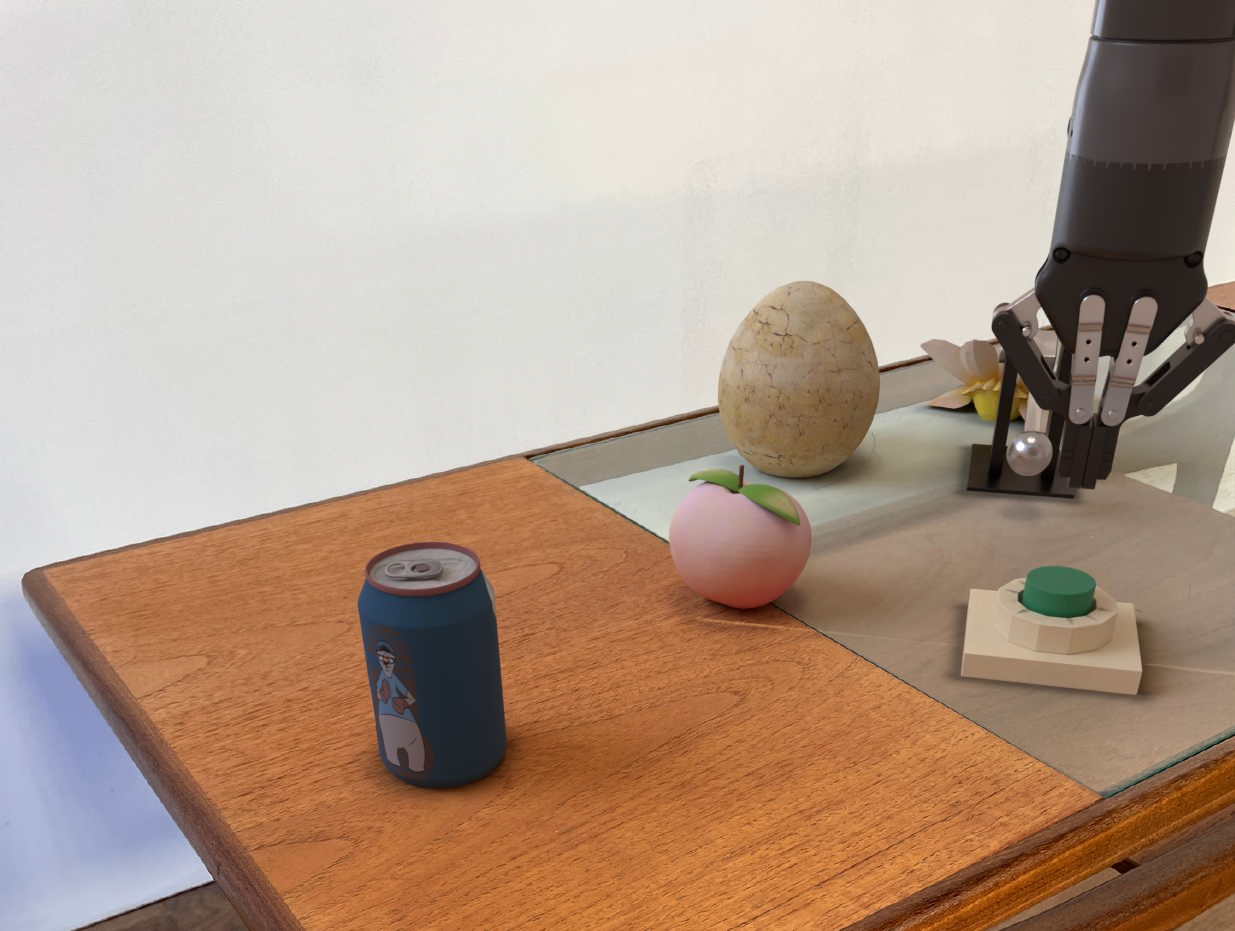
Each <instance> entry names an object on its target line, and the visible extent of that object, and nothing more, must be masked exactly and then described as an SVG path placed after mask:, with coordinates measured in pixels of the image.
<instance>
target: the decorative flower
mask: <svg viewBox="0 0 1235 931" xmlns="http://www.w3.org/2000/svg"><path fill="white" fill-rule="evenodd" d="M919 347H920V348H921V349H922V350H923V351H924V352H925V353H926V354H927V355H928V356H929V357H930V358H931V359H932V360H933V361H934V362H935V364H938V365H939V366H940V367H941V368H943V369H944V370H945V371H947V373H949V374H950V375H952V376H953V377H954V378H956V379H957V380H958V381H959V382H962V383H963V384H965V385H963V386H960V387H956V388H954V389H950V390H948V391H946V392H944V393H942V394H941V395H939V396H937V397H935V398H933V399H932V400H931V401H929V402H926V403H925V405H926V406H931V407H939V408H940V407H941V408H946V409H947V408H948V409H958V408H962V407H965V406H966V405H969V403H971V404H974V408H975V410H976V412H977V414H978V416H979V417H980V418H982V419H983V420H985V421H990V422H995V419H996V412H997V406H998V399H999V393H1000V386H1001V380H1002V373H1003V367H1004V363H998V359H999V352H1000V347H998V348H997V349H996V347H995V346H994V345H992V344H991V343H990V342H989V341H988V340H982V339H980V340H979V339H977V338H973V339H972V340H969V341H965V342H964V343H963V344H962V346H959V345H958V344H955V343H953V342H950V341H948V340H945V339H938V338H932V339H929V340H927V341H925V342H922V343H921V344H920V345H919ZM1053 372H1054V374H1055V375H1056V371H1054V370H1053ZM1027 397H1028V388H1027V387H1026V385H1025V384H1024V382H1023V380H1022V379H1021V377H1020V376H1019V374H1017V380H1016V386H1015V392H1014V399H1013V405H1012V411H1011V417H1010V422H1011V421H1014V420H1016V419H1018V418H1019V417H1022V419H1023V420H1024V421H1025V414H1026V406H1027ZM1048 415H1049V410H1043V409H1042V417H1041V427H1040V432H1041V433H1045V432H1046V426H1047V420H1048Z"/></svg>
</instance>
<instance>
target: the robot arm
mask: <svg viewBox="0 0 1235 931" xmlns="http://www.w3.org/2000/svg"><path fill="white" fill-rule="evenodd" d="M1090 24H1091V25H1090V30H1089V34H1090V35H1091V36H1090V37H1089V38H1088V43H1087V47H1086V51H1085V55H1084V59H1083V63H1082V66H1081V69H1080V73H1079V76H1078V79H1077V82H1076V87H1075V91H1074V97H1073V102H1072V109H1071V115H1070V117H1069V118H1068V119H1069V120H1068V123H1067V127H1066V130H1067V131H1066V134H1067V140H1066V147H1065V153H1064V157H1063V158H1064V159H1063V165H1062V171H1061V178H1060V179H1061V180H1060V183H1059V190H1058V195H1057V196H1058V197H1057V204H1056V209H1055V216H1054V222H1053V228H1052V234H1051V241H1050V246H1049V252H1048V254H1047V257H1046V259H1045V261H1044V263H1043V264H1042V265H1041V266H1040V268H1039V269H1038V271H1037V273H1036V275H1035V278H1034V287H1032V288H1031V289H1029V290H1027V291H1026V292H1025V293H1024V294H1022V295H1021V296H1019V297H1017V298H1016V299H1015V300H1013V301H1012V302H1001V303H998V305H996V306H995V307H994V309H993V311H992V318H991V326H990V327H991V328H990V329H991V332H992V334H993V335H994V337H995V339H996V340H997V342H998V343H999V346H1002V348H1003V350H1004V351H1005V353H1006V355H1007V356H1008V358H1009V359H1010V361H1011V363H1012V364H1013V366H1014V367H1015V369H1016V371H1017V372H1018V374H1019V376H1020V377H1021V379H1022V380H1023V382H1024V384H1025V385H1026V387H1027V388H1028V390H1029V392H1030V393H1031V395H1032V397H1033V398H1034V400H1035V401H1036V403H1037V405H1038V406H1039V407H1040V408H1041V409H1043V410H1052V411H1054V412H1056V413H1058V414H1060V415H1062V416H1063V418H1064V419H1065V422H1064V427H1063V432H1062V438H1061V443H1060V449H1059V450H1060V452H1059V458H1058V469H1059V473H1060V477H1067V478H1068V479H1067V480H1068V488H1074V489H1077V490H1080V489H1081V490H1082V489H1083V490H1093V491H1094V490H1095V489H1096V486H1097V481H1098V480H1100V481H1106V480H1107V478H1108V477H1109V475H1110V474H1111V473H1112V468H1113V464H1114V459H1115V454H1116V450H1117V446H1118V440H1119V434H1120V430H1121V427H1122V425H1123V424H1125V422H1126V421H1128V420H1129V419H1132V418H1136V417H1140V416H1144V417H1148V418H1150V417H1154V416H1155V415H1158V413H1160V412H1162V410H1163V409H1164V408H1165V407H1166V406H1167V405H1169V404H1170V402H1172V401H1173V400H1174V399H1175V398H1176V397H1178V396H1179V394H1181V393H1182V392H1183V391H1184V390H1185V389H1186V388H1187V387H1188V386H1189V385H1191V384H1192V383H1193V382H1194V381H1195V380H1196V379H1197V378H1198V377H1200V375H1202V374H1203V373H1204V372H1205V371H1206V370H1207V369H1208V368H1209V367H1211V365H1213V364H1214V363H1215V362H1216V361H1218V359H1219V358H1221V357H1222V356H1223V355H1224V354H1225V353H1226V352H1227V351H1228V350H1229V349H1231V347H1232V346H1234V345H1235V317H1234V316H1233V314H1231V313H1230V312H1228V311H1223V310H1222V309H1221V308H1219V307H1218V305H1216V303H1214V301H1212V300H1211V299H1210V298H1209V297H1208V296H1207V294H1208V290H1209V282H1208V278H1207V275H1206V272H1205V264H1204V262H1205V255H1206V254H1205V253H1206V249H1207V245H1208V240H1209V236H1210V232H1211V228H1212V223H1213V219H1214V214H1215V210H1216V205H1217V201H1218V198H1219V197H1218V196H1219V192H1220V188H1221V184H1222V180H1223V175H1224V170H1225V166H1226V160H1227V157H1228V153H1229V148H1230V144H1231V139H1232V136H1233V135H1232V134H1233V130H1234V125H1235V0H1094V6H1093V11H1092V18H1091V23H1090ZM1040 309H1041V310H1042V311H1043V313H1044V315H1045V317H1046V318H1047V320H1048V322H1049V324H1050V326H1051V327H1052V329H1053V331H1055V333H1056V335H1057V337H1058V341H1059V342H1060V345H1061V344H1062V346H1063V347H1064V348H1065V349H1066V350H1067V351H1069V352H1070V353H1072V366H1071V378H1070V385H1067V384H1065V383H1063V382H1060V381H1059V380H1058V379H1057V377H1056V375H1055V374H1054V372H1053V371H1054V370H1052V369H1051V367H1050V365H1049V364H1048V362H1047V360H1046V359H1045V357H1044V356H1043V354H1042V352H1041V351H1040V349H1039V347H1038V346H1037V344H1036V342H1035V341H1034V339H1033V337H1034V336H1035V335H1036V334H1037V332H1038V330H1039V318H1038V316H1037V315H1038V312H1039V310H1040ZM1190 316H1191V319H1190V321H1189V323H1188V324H1186V327H1185V328H1184V331H1183V334H1184V339H1185V341H1184V342H1183V344H1181V345H1180V346H1179V347H1178V348H1177V349H1176V350H1175V351H1174V352H1173V353H1172V354H1170V355H1169V357H1167V358H1166V359H1165V360H1164V361H1163V362H1162V363H1161V364H1160V365H1159V366H1158V367H1156V368H1155V370H1153V371H1152V372H1151V373H1150V374H1149V375H1148V376H1147V377H1146V378H1145V379H1143V381H1142V382H1141V383H1139V384H1138V385H1135V384H1136V382H1137V379H1138V376H1139V372H1140V368H1141V365H1142V361H1143V359H1144V357H1146V356H1148V355H1150V354H1152V353H1153V352H1154V351H1156V350H1157V349H1158V348H1159V347H1160V346H1161V345H1162V344H1163V343H1164V342H1165V341H1166V340H1167V339H1168V338H1169V337H1170V336H1171V335H1172V334H1173V333H1174V332H1175V331H1176V330H1177V329H1178V328H1179V327H1180V326H1181V325H1182V324H1183V323H1184V322H1185V321H1186V320H1187V319H1188V318H1189V317H1190ZM1103 357H1110V359H1109V363H1108V368H1107V374H1106V377H1105V379H1104V384H1103V388H1102V390H1101V391H1102V392H1101V395H1100V399H1099V402H1098V407H1097V413H1094V412H1093V408H1094V401H1095V400H1094V399H1095V390H1096V382H1097V378H1098V369H1099V361H1100V358H1103Z"/></svg>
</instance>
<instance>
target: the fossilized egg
mask: <svg viewBox="0 0 1235 931" xmlns="http://www.w3.org/2000/svg"><path fill="white" fill-rule="evenodd" d="M748 312H749V313H747V315H746V316H745V317H744V319H743V320H742V321H741V322H740V324H739V325H738V327H737V329H736V330H735V332H734V333H733V335H732V337H731V339H730V341H729V343H728V345H727V347H726V351H725V353H724V355H723V358H722V362H721V366H720V371H719V374H718V382H717V383H718V384H717V404H718V405H717V406H718V411H719V416H720V421H721V423H722V425H723V428H724V430H725V433H726V435H727V438H728V440H729V441H730V442H731V444H732V446H733V448H734V449H735V450H736V451H737V453H738V454H739V455H740V456H741V458H743V459H744V460H745V461H746V462H748V463H749V464H750V465H751V466H752V467H754V468H755V469H756V470H758V471H760V472H762V473H764V474H766V475H770V476H774V477H778V478H779V477H780V478H787V479H805V478H812V477H817V476H820V475H824V474H826V473H829V472H830V471H832V470H834V469H836V468H837V467H838V466H840V465H841V464H842V463H844V462H845V461H846V460H847V459H848V458H849V457H850V456H851V455H852V454H853V453H854V452H855V451H856V450H857V448H859V446H860V445H861V444H862V442H863V441H864V439H865V437H866V436H867V434H868V432H869V430H870V428H871V426H872V424H873V421H874V418H875V415H876V412H877V408H878V405H879V400H880V392H881V391H880V388H881V377H880V368H879V360H878V356H877V354H876V353H877V352H876V350H875V347H874V343H873V341H872V338H871V336H870V334H869V331H868V330H867V327H866V325H865V323H863V321H862V320H861V318H860V316H859V314H858V313H857V312H856V310H855V309H854V308H853V307H852V306H851V305H850V303H849V302H848V301H847V300H846V299H845V298H844V297H843V296H842V295H840V293H838V292H836V291H835V290H834V289H832V287H829V286H827V285H824V284H821V283H820V282H816V281H812V280H797V281H792V282H789V283H786V284H784V285H781V286H779V287H776V288H775V289H774V290H772V291H771V292H769V293H768V294H766V295H765V296H764V297H763V298H761V300H759V302H758V303H756V304H755V305H754V306H753V308H751V310H750V311H748Z"/></svg>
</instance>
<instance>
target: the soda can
mask: <svg viewBox="0 0 1235 931" xmlns="http://www.w3.org/2000/svg"><path fill="white" fill-rule="evenodd" d="M364 577H365V579H364V582H363V585H362V587H361V590H360V592H359V595H358V598H357V610H358V611H357V612H358V618H359V623H360V630H361V637H362V644H363V652H364V657H365V664H366V665H365V666H366V671H367V677H368V678H367V679H368V684H369V692H370V698H371V705H372V711H373V720H374V725H375V726H374V727H375V731H376V738H377V746H378V752H379V758H380V760H381V761H382V762H381V763H383V765H384V766H385V767H386V769H387V770H388V772H390V773H391V774H392V775H393V777H395V778H396V779H397V780H399V781H401V782H403V783H405V784H407V785H411V786H414V787H418V788H422V789H423V788H424V789H451V788H457V787H461V786H465V785H468V784H471V783H473V782H474V783H475V782H476V781H479V780H481V779H483V778H484V777H486V776H488V775H489V774H490V773H491V772H492V771H494V770H495V769H496V768H497V767H498V765H499V764H500V761H501V760H502V758H503V756H504V754H505V751H506V749H507V744H508V738H507V729H506V714H505V703H504V692H503V690H504V689H503V678H502V667H501V656H500V654H501V653H500V644H499V630H498V620H497V608H496V596H495V595H496V594H495V589H494V587H493V585H492V584H491V581H490V580H489V579H488V577H487V575H486V574H485V573H484V571H483V570H482V568H481V560H480V558H479V556H478V554H476V552H474V551H473V550H471V549H470V548H467V547H465V546H463V545H459V544H456V543H452V542H446V541H421V542H412V543H405V544H401V545H398V546H394V547H390V548H388V549H385V550H383V551H381V552H380V553H379V552H378V553H376V555H374V556H373V557H371V558H370V560H368V562H367V563H366V565H365V567H364Z"/></svg>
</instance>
